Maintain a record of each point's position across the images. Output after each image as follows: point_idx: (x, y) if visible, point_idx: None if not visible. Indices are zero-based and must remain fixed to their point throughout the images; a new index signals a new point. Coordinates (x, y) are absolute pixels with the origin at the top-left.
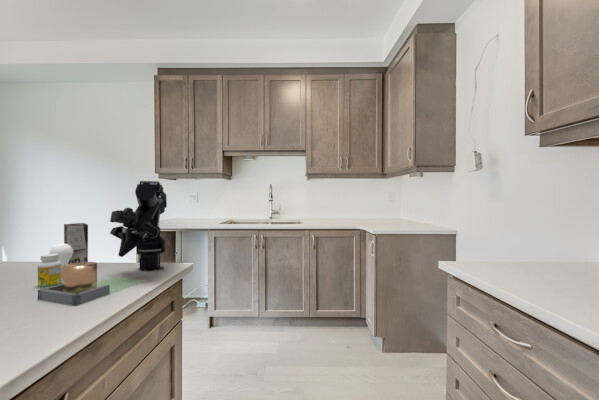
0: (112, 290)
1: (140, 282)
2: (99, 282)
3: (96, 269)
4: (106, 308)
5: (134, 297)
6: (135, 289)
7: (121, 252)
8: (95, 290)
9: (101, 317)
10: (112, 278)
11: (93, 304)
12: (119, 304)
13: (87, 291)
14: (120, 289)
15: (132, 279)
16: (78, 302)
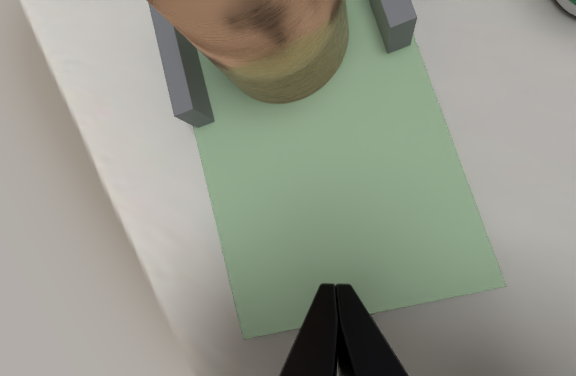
0: (228, 154)
1: (242, 302)
2: (427, 174)
3: (182, 33)
4: (99, 74)
5: (118, 183)
6: (198, 240)
7: (310, 307)
8: (162, 52)
9: (53, 41)
10: (457, 262)
11: None
12: (99, 116)
13: (160, 19)
14: (215, 183)
15: None
16: None
